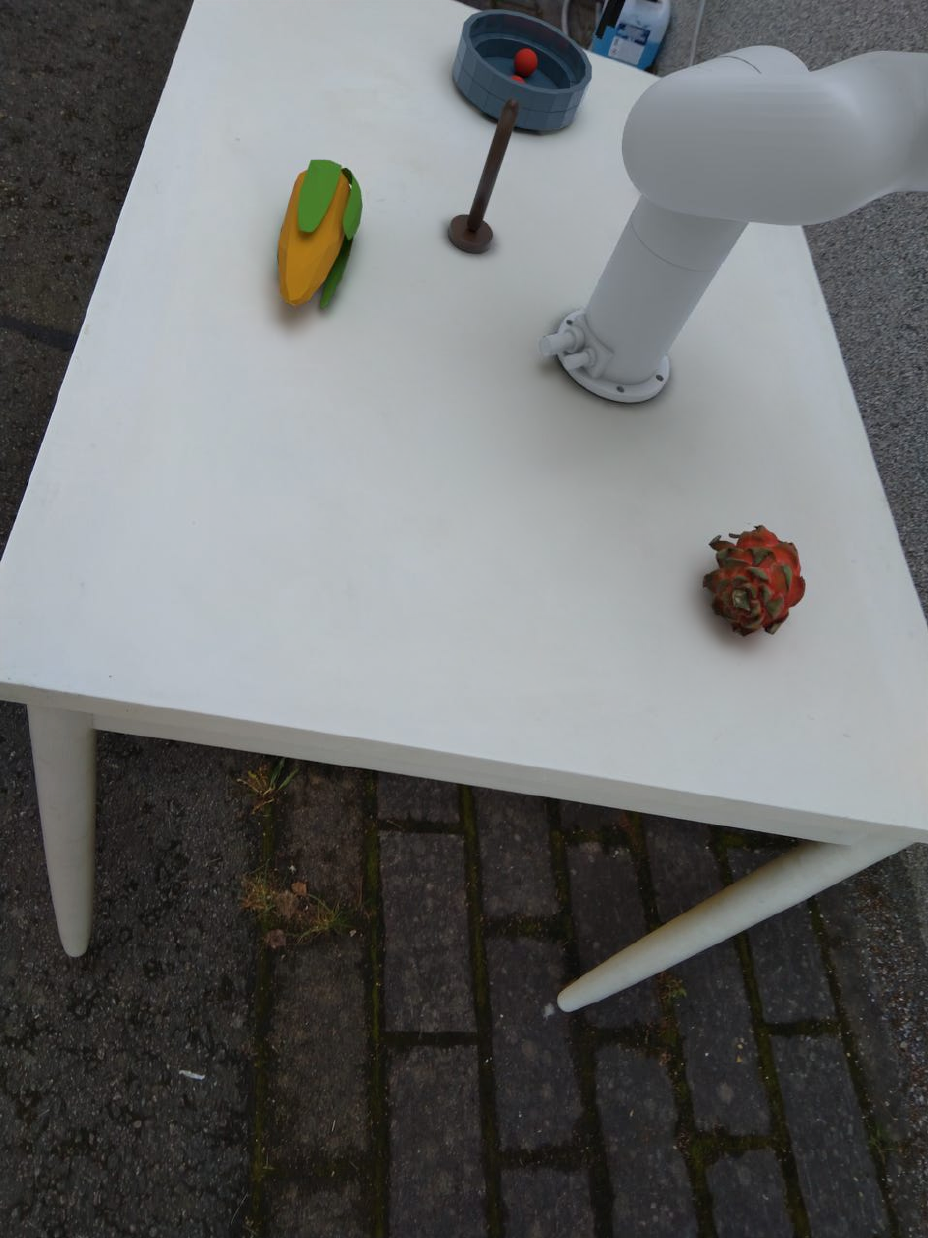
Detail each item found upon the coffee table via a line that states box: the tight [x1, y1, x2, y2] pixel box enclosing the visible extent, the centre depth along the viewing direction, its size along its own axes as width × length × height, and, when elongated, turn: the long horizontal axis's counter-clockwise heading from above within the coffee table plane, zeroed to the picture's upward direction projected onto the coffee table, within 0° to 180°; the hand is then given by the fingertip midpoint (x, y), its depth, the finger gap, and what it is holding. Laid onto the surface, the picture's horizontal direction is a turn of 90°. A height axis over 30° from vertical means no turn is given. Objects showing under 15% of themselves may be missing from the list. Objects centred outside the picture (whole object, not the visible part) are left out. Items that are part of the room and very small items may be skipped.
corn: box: [276, 159, 363, 308], centre depth 87 cm, size 7×8×20 cm
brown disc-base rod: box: [447, 98, 520, 254], centre depth 92 cm, size 5×5×16 cm
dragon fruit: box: [701, 523, 807, 638], centre depth 80 cm, size 8×8×12 cm
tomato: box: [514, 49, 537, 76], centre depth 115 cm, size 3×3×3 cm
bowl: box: [451, 9, 593, 131], centre depth 113 cm, size 17×17×6 cm
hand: (550, 8), depth 80 cm, fingers open, 9 cm apart
